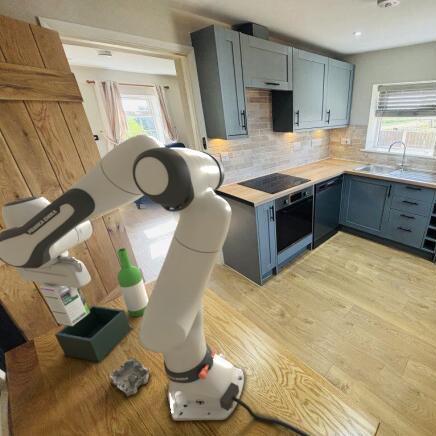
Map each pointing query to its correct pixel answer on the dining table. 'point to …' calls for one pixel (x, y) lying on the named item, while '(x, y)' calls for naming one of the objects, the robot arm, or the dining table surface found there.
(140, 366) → the grey jagged rectangular tray
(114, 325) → the waste bin
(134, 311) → the wine bottle
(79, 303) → the syrup box
